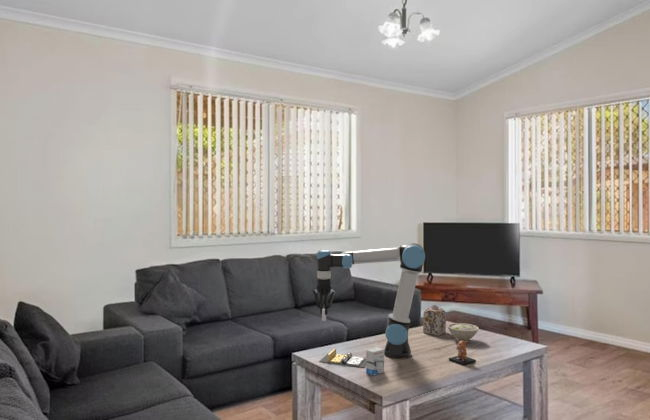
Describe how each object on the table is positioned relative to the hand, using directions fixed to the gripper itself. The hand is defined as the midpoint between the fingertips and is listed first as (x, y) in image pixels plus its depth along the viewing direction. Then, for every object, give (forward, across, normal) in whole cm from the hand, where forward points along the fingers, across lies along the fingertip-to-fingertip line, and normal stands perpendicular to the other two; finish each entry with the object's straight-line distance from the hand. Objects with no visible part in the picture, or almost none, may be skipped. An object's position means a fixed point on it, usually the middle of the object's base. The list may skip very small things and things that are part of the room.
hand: (324, 320), depth 269 cm
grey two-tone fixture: (+21, -13, +2) cm, 24 cm away
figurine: (+22, -73, -19) cm, 79 cm away
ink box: (+21, -32, +14) cm, 41 cm away
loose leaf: (+20, -10, +3) cm, 23 cm away
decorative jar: (+22, -53, -73) cm, 93 cm away
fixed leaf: (+20, -17, +3) cm, 27 cm away
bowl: (+22, -72, -60) cm, 96 cm away
